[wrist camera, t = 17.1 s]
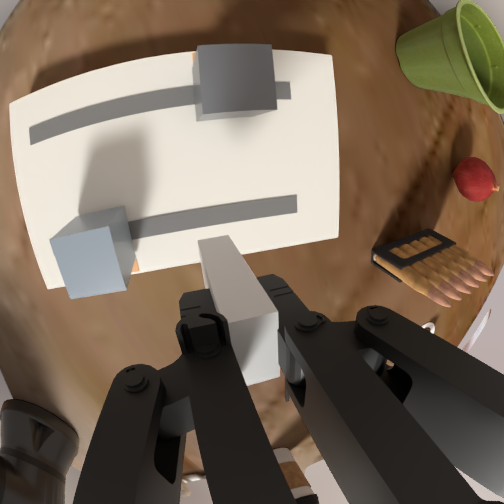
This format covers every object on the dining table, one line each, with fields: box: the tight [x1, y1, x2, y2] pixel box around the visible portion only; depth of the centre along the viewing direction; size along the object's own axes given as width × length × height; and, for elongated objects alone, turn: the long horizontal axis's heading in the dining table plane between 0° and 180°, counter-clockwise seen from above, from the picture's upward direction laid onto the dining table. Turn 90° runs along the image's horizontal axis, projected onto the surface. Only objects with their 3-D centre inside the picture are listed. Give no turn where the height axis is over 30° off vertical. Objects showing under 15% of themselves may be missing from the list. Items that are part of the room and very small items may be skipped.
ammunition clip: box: [372, 229, 494, 307], centre depth 25 cm, size 11×2×12 cm, turn 100°
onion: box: [453, 157, 499, 202], centre depth 25 cm, size 6×6×8 cm
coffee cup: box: [273, 448, 319, 504], centre depth 37 cm, size 8×8×15 cm
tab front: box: [192, 44, 278, 122], centre depth 14 cm, size 4×4×5 cm
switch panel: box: [10, 50, 339, 289], centre depth 19 cm, size 26×16×3 cm, turn 94°
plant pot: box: [396, 0, 504, 114], centre depth 17 cm, size 12×12×11 cm
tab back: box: [50, 206, 136, 299], centre depth 16 cm, size 4×4×5 cm
